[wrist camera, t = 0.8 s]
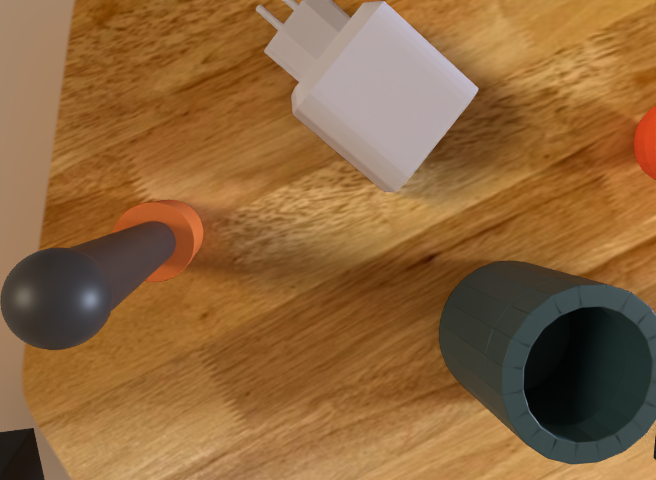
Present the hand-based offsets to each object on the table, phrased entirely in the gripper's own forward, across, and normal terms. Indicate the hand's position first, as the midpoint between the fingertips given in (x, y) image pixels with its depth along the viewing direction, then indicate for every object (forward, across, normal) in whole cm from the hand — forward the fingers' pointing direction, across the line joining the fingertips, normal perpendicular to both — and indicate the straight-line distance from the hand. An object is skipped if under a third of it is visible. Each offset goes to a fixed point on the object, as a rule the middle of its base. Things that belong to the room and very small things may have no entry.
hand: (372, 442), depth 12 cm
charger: (+32, +5, +8) cm, 34 cm away
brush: (+30, -8, -2) cm, 31 cm away
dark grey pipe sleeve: (+29, +17, -12) cm, 36 cm away
